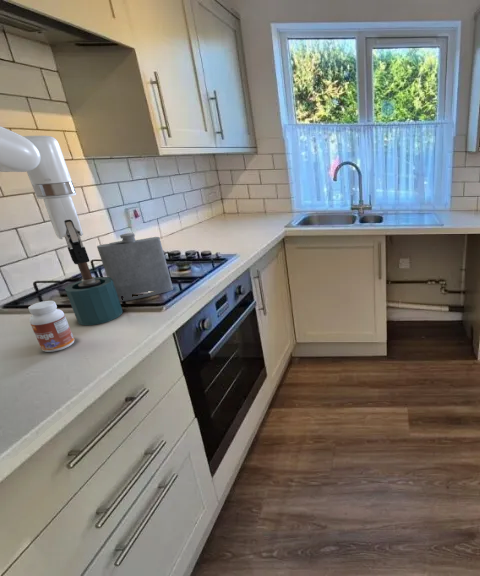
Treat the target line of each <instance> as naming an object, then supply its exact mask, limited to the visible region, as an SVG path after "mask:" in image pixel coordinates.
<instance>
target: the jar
mask: <svg viewBox="0 0 480 576" xmlns="http://www.w3.org/2000/svg"><path fill="white" fill-rule="evenodd" d="M94 278H95V280H100V282H101V285H98V286H95V287H91V288H86V289H79V286H78V284H80V283H82V281H81V280H79V281H75V282H72V283H71V284H68V285H67V286H65V288H64V290H65V293H66V296H67V299H68V300H69V303H70V306H71V308H72V311H73V313H74V316H75V318H76V321H77V322H78V324H79V325H81V326H96V325H100V324H104V323H109V322H110V321H113V320H115V319H117V318H119V317H120V316H121V315H122V314H123V312H124V311H123V307H122V304H121V302H120V301H119V298H118V295H117V292H116V289H115V286H114V283H113V280H112V279H111V278H108V277H107V276H98V277H94Z"/></svg>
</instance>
